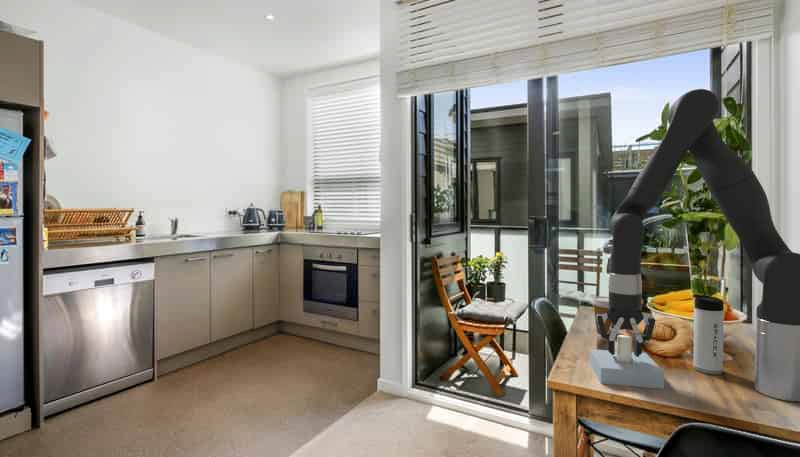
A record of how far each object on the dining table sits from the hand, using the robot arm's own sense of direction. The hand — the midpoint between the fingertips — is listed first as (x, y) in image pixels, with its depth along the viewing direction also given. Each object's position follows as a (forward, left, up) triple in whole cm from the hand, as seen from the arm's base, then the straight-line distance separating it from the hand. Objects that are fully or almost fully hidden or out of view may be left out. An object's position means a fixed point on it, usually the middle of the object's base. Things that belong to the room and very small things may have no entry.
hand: (624, 354), depth 108 cm
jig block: (0, 0, -5) cm, 5 cm away
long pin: (0, 0, -5) cm, 5 cm away
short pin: (+2, -15, -5) cm, 16 cm away
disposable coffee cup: (-4, -38, -6) cm, 39 cm away
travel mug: (-22, -8, -6) cm, 24 cm away
